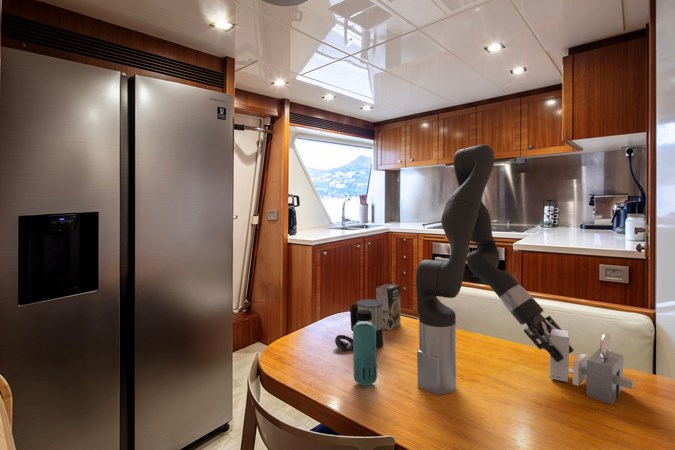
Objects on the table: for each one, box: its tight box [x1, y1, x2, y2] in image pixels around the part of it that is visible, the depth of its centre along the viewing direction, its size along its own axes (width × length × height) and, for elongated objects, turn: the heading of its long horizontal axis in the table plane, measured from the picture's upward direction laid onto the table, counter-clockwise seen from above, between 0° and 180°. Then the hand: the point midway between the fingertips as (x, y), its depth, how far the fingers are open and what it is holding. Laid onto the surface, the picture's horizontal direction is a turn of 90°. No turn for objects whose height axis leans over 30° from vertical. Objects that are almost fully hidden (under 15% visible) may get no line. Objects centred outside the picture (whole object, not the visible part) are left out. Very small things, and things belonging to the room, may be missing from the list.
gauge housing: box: [568, 332, 624, 405], centre depth 90 cm, size 13×15×15 cm
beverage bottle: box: [352, 310, 378, 386], centre depth 92 cm, size 6×7×20 cm
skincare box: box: [549, 329, 570, 383], centre depth 93 cm, size 6×4×12 cm
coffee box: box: [375, 283, 401, 331], centre depth 137 cm, size 9×6×16 cm
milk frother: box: [334, 298, 385, 352], centre depth 118 cm, size 14×16×15 cm
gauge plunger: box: [572, 353, 635, 390], centre depth 87 cm, size 11×11×6 cm
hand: (565, 356), depth 92 cm, fingers closed on skincare box, 7 cm apart
